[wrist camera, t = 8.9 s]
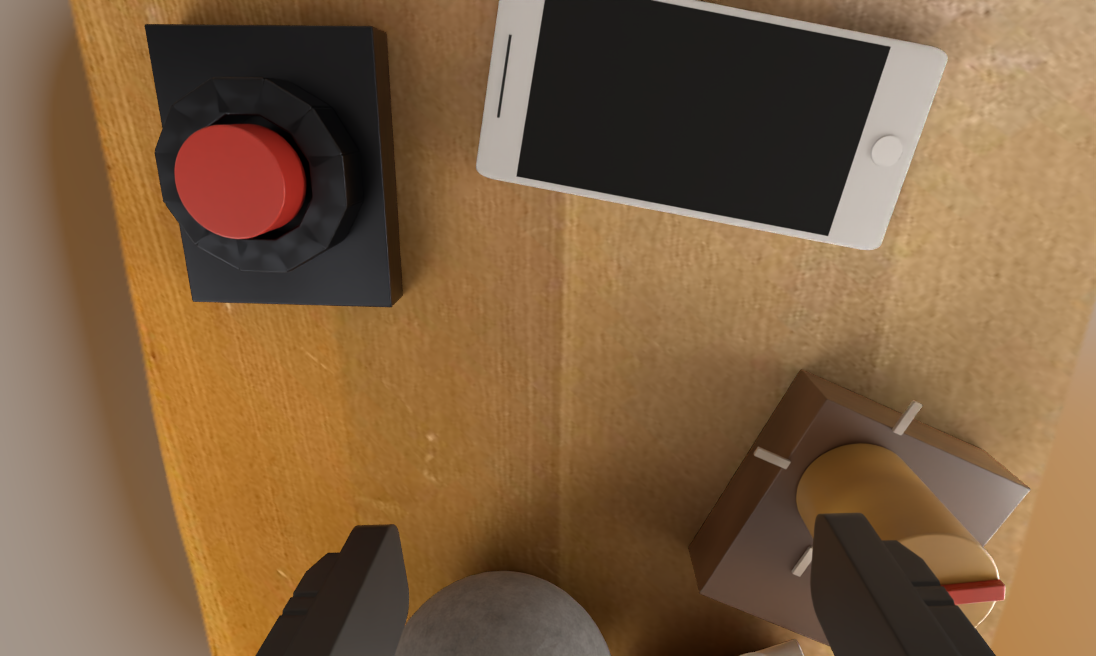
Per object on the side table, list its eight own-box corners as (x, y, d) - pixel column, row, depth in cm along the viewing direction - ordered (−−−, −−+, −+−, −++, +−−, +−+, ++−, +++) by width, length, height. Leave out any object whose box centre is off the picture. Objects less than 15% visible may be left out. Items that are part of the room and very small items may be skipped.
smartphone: (868, 248, 25) (879, 253, 24) (477, 173, 24) (473, 175, 23) (938, 51, 22) (953, 49, 21) (507, -33, 22) (503, -39, 21)
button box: (173, 29, 23) (106, 16, 20) (386, 32, 23) (354, 18, 20) (215, 290, 27) (163, 315, 23) (403, 296, 26) (377, 322, 23)
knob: (798, 545, 26) (857, 663, 20) (792, 450, 24) (854, 548, 19) (911, 533, 25) (1003, 649, 20) (912, 435, 24) (1011, 532, 18)
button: (196, 123, 21) (164, 123, 20) (301, 124, 21) (277, 125, 20) (213, 229, 22) (183, 238, 21) (312, 231, 22) (290, 241, 21)
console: (789, 329, 26) (816, 357, 23) (1003, 425, 27) (1056, 464, 24) (662, 537, 29) (671, 585, 26) (855, 616, 30) (885, 672, 27)
